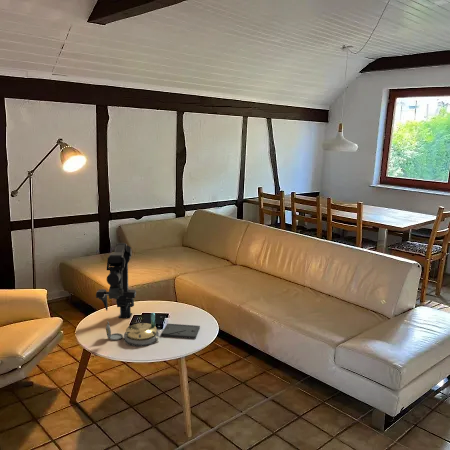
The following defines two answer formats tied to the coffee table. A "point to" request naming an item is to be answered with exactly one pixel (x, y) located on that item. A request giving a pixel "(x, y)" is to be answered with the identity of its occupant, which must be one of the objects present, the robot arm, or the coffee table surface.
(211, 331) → the coffee table surface
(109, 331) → the pocket watch
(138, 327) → the tan round piece
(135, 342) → the dark grey round disc
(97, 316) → the coffee table surface
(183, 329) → the picture frame
